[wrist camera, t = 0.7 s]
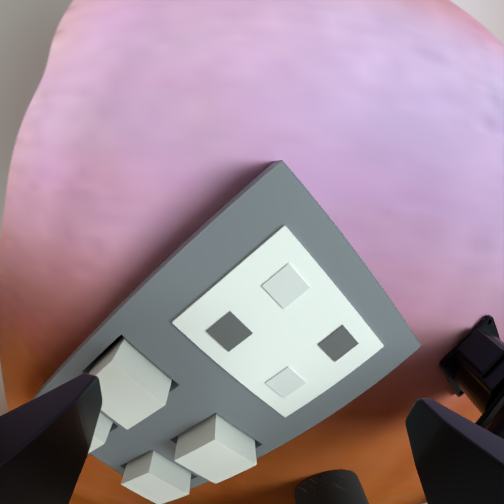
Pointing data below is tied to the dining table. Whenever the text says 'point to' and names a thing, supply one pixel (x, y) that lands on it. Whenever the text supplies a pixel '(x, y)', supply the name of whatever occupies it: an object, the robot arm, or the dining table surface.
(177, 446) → the button
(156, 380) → the button
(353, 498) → the travel mug
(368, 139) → the dining table surface
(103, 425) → the button
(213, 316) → the button board
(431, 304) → the dining table surface
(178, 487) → the button
